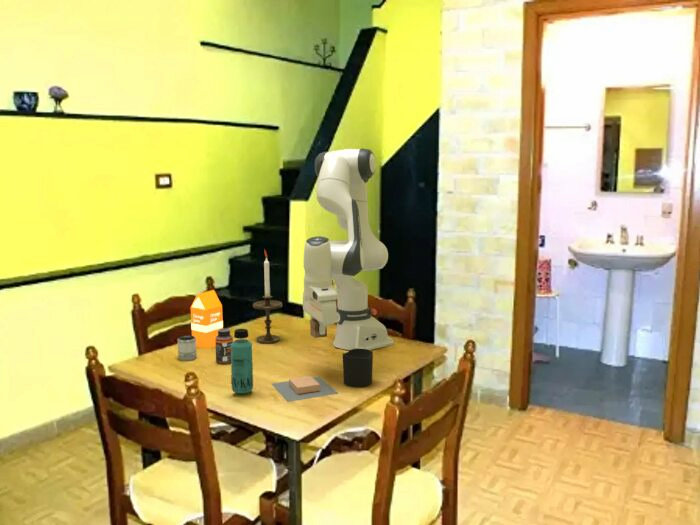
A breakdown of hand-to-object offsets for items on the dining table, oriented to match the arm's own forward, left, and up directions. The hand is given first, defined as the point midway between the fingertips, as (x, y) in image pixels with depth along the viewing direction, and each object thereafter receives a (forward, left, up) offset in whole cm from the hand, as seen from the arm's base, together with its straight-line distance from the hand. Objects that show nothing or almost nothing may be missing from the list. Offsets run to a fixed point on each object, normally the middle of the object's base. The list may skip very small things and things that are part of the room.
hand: (318, 331), depth 211 cm
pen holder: (-9, +11, -15) cm, 21 cm away
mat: (+8, +9, -15) cm, 19 cm away
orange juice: (+25, -50, -15) cm, 58 cm away
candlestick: (+3, -45, -15) cm, 48 cm away
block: (0, 0, -1) cm, 1 cm away
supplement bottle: (+24, -27, -15) cm, 39 cm away
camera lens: (+35, -36, -15) cm, 53 cm away
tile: (+8, +5, -13) cm, 16 cm away
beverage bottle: (+26, +5, -15) cm, 31 cm away
